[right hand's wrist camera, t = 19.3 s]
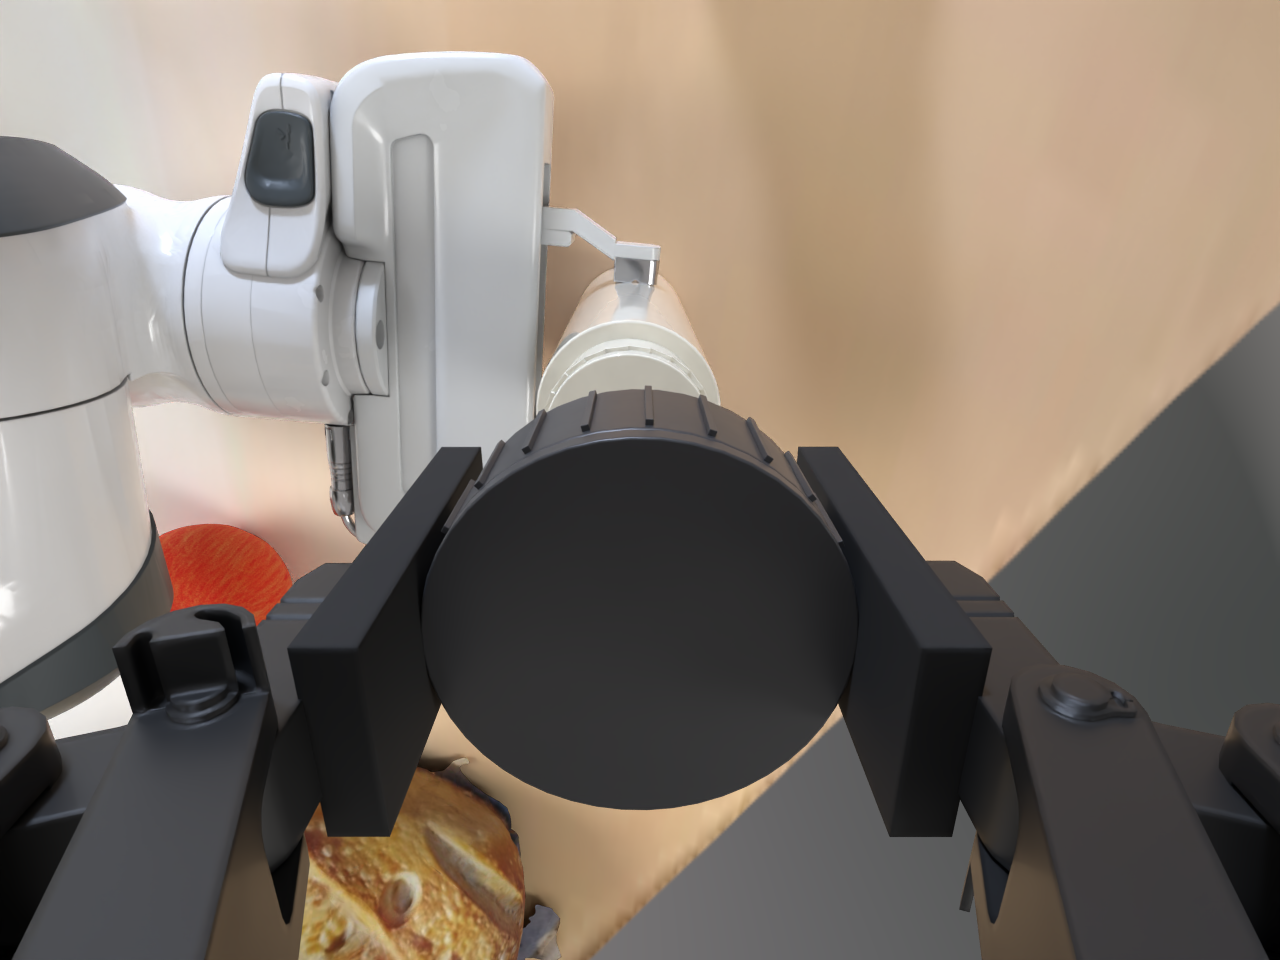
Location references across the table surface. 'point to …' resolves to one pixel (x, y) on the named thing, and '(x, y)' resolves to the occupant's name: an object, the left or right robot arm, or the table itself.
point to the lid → (639, 604)
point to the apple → (224, 569)
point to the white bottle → (626, 345)
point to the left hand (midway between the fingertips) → (650, 346)
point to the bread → (425, 883)
